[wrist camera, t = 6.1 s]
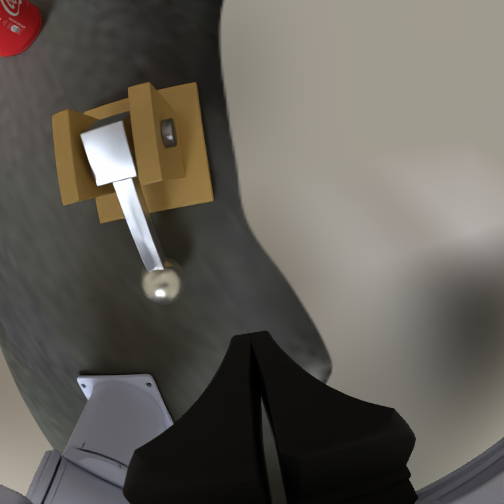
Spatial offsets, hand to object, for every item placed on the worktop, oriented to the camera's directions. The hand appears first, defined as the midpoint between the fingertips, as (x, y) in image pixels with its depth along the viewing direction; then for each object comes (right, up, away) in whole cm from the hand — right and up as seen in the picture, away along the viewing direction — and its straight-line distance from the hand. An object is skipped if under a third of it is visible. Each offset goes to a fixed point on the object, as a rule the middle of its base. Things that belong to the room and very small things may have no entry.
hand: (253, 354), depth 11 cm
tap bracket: (-7, +10, +7) cm, 15 cm away
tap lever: (-6, +6, +6) cm, 11 cm away
